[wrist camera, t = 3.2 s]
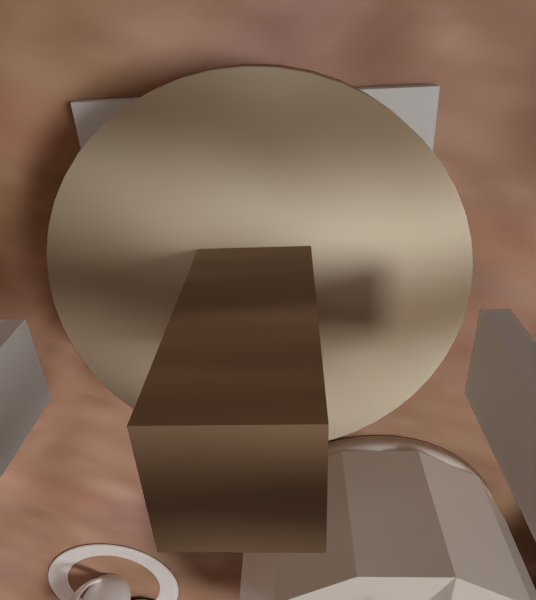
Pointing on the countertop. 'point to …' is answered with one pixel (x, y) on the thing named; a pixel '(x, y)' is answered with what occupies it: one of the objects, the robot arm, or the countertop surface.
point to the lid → (255, 290)
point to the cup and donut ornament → (107, 588)
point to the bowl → (398, 533)
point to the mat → (400, 99)
